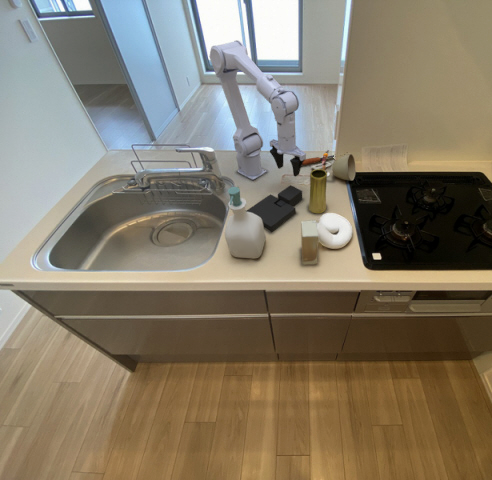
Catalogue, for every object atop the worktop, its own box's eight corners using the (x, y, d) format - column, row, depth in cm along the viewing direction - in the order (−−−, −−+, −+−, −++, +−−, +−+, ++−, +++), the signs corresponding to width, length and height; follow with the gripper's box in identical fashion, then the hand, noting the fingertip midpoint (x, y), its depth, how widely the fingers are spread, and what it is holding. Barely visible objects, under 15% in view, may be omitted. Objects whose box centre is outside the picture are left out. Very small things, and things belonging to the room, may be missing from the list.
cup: (334, 150, 110) (352, 148, 107) (340, 171, 117) (357, 170, 114) (327, 165, 105) (346, 163, 101) (334, 186, 111) (351, 185, 108)
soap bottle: (229, 259, 84) (208, 201, 66) (238, 235, 90) (220, 176, 72) (261, 261, 83) (247, 204, 65) (267, 237, 89) (257, 178, 71)
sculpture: (354, 221, 94) (357, 203, 88) (348, 255, 84) (351, 236, 78) (319, 216, 96) (320, 197, 90) (309, 247, 86) (309, 229, 80)
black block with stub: (273, 206, 100) (272, 197, 97) (291, 193, 105) (290, 184, 102) (284, 212, 98) (284, 203, 95) (302, 199, 102) (302, 190, 100)
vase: (328, 204, 100) (330, 170, 90) (323, 215, 96) (325, 180, 86) (311, 201, 102) (312, 166, 91) (306, 211, 98) (306, 176, 88)
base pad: (246, 216, 96) (245, 211, 94) (271, 199, 103) (270, 194, 101) (271, 232, 91) (270, 226, 89) (295, 213, 97) (295, 207, 95)
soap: (326, 161, 121) (326, 159, 120) (333, 165, 118) (333, 163, 117) (309, 167, 116) (309, 165, 115) (316, 170, 113) (316, 168, 112)
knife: (353, 156, 122) (347, 154, 126) (352, 150, 121) (347, 148, 125) (298, 168, 115) (294, 166, 119) (297, 161, 114) (293, 159, 118)
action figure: (323, 164, 118) (323, 143, 111) (329, 164, 118) (330, 144, 111) (318, 181, 111) (318, 160, 103) (325, 181, 110) (326, 161, 103)
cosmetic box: (301, 249, 86) (300, 219, 77) (315, 248, 86) (316, 219, 77) (302, 265, 81) (301, 236, 73) (317, 265, 82) (318, 235, 73)
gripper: (261, 131, 90) (265, 168, 100) (295, 146, 83) (296, 184, 93) (276, 124, 94) (279, 160, 103) (310, 137, 87) (309, 174, 97)
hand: (288, 171), depth 99 cm, fingers open, 7 cm apart
